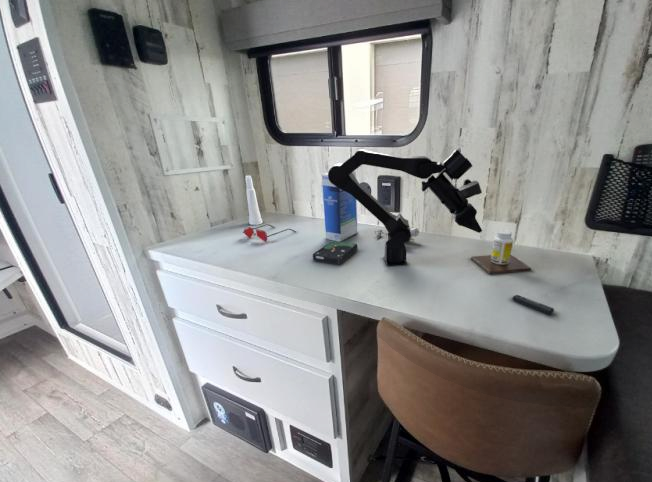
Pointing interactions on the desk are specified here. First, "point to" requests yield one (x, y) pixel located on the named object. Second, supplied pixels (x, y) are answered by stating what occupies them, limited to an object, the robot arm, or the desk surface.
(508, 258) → the supplement bottle
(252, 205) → the cosmetic bottle
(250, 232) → the glasses
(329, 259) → the disk drive
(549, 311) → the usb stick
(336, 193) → the string lights box
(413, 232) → the clip-on lamp
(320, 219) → the desk surface
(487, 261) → the walnut board
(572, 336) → the desk surface
